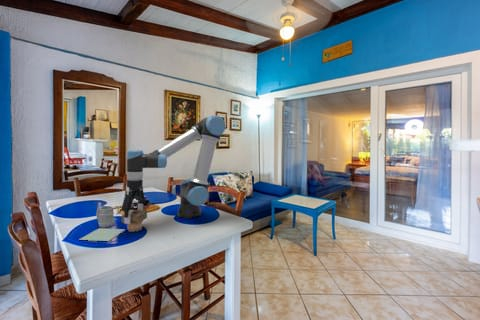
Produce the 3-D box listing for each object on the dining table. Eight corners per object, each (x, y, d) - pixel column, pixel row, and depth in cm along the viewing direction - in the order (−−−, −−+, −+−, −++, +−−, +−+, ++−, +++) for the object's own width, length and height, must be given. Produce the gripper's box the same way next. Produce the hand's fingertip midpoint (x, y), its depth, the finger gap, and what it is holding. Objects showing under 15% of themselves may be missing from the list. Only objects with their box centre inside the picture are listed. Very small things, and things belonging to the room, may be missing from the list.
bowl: (144, 227, 121) (144, 218, 121) (138, 232, 114) (138, 222, 114) (131, 226, 121) (131, 217, 121) (124, 231, 114) (124, 222, 114)
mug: (104, 228, 117) (104, 206, 117) (90, 224, 122) (90, 203, 121) (117, 224, 124) (117, 203, 124) (103, 220, 129) (103, 200, 128)
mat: (125, 230, 116) (125, 229, 116) (108, 242, 102) (108, 240, 102) (99, 229, 116) (99, 228, 116) (79, 240, 102) (79, 239, 102)
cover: (147, 217, 122) (147, 209, 121) (139, 223, 113) (139, 214, 112) (130, 217, 122) (130, 208, 122) (121, 222, 113) (121, 213, 113)
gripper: (139, 176, 129) (138, 211, 130) (113, 182, 104) (112, 227, 105) (152, 176, 128) (151, 212, 129) (129, 183, 103) (128, 228, 105)
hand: (134, 219), depth 117 cm, fingers open, 13 cm apart
